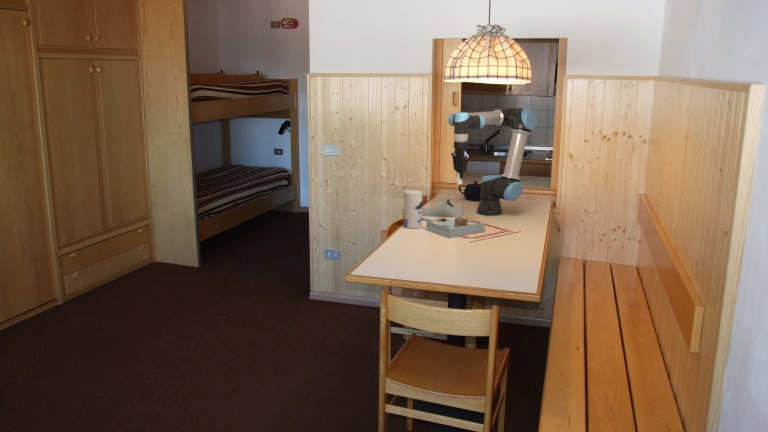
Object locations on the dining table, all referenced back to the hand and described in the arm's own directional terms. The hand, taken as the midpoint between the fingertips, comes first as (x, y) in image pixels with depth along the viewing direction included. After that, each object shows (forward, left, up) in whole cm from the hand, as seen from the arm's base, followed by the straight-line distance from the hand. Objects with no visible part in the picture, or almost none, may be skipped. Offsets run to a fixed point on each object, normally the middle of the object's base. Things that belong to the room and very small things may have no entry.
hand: (459, 184), depth 364 cm
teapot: (-57, -50, -25) cm, 80 cm away
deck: (+7, +6, -24) cm, 26 cm away
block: (+7, +11, -21) cm, 25 cm away
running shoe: (-2, -18, -25) cm, 30 cm away
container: (+21, -14, -25) cm, 35 cm away
